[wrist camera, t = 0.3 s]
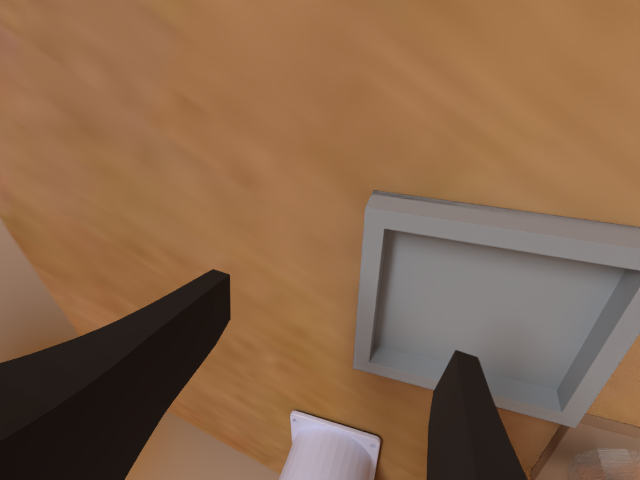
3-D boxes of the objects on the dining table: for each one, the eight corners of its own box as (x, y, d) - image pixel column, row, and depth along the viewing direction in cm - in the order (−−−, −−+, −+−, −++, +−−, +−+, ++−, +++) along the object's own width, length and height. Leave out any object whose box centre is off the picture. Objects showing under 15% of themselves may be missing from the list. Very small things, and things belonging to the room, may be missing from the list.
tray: (567, 397, 23) (575, 428, 21) (359, 345, 26) (352, 368, 24) (669, 231, 16) (691, 256, 14) (373, 190, 19) (365, 207, 18)
